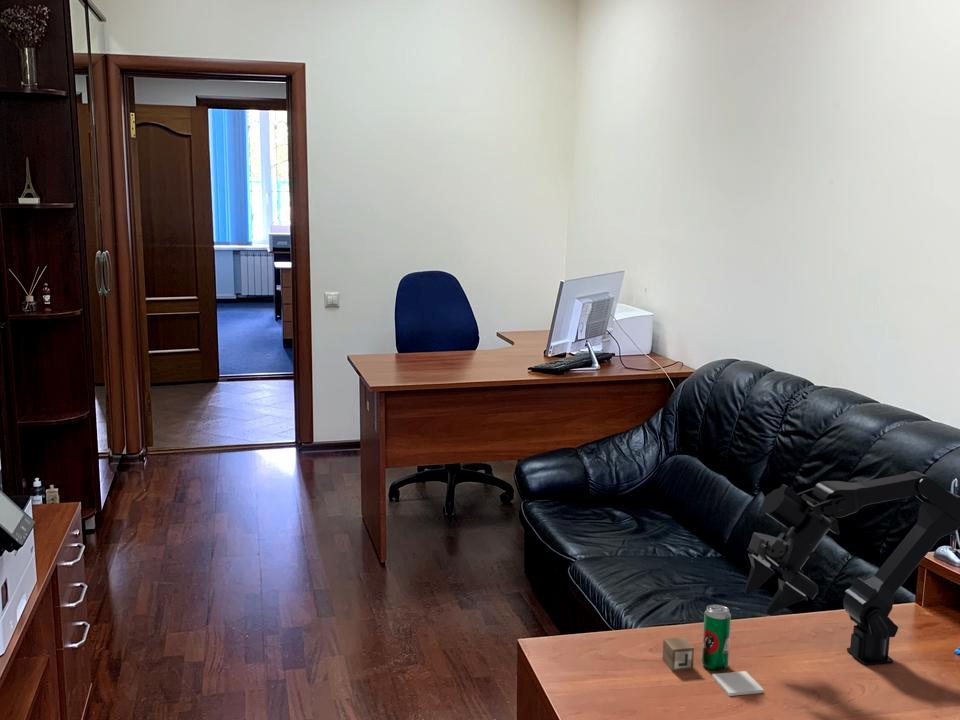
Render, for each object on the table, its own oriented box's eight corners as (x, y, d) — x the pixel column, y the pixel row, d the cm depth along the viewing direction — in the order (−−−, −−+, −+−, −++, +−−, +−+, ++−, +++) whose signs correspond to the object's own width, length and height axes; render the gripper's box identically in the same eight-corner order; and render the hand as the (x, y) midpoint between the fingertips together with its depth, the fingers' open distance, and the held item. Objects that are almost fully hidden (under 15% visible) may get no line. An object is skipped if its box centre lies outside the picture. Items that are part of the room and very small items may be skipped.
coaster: (745, 673, 171) (745, 671, 171) (763, 692, 165) (763, 689, 165) (712, 677, 170) (712, 674, 170) (729, 696, 163) (729, 693, 163)
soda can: (728, 673, 172) (732, 615, 170) (702, 670, 173) (705, 613, 171) (726, 661, 176) (730, 604, 175) (701, 658, 177) (704, 602, 176)
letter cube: (683, 658, 178) (684, 637, 177) (693, 670, 173) (694, 648, 172) (662, 660, 177) (663, 639, 176) (672, 671, 172) (673, 650, 171)
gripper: (750, 503, 180) (706, 565, 181) (796, 534, 162) (747, 603, 162) (790, 531, 182) (746, 592, 183) (840, 565, 164) (791, 632, 165)
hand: (756, 603), depth 173 cm, fingers open, 9 cm apart
